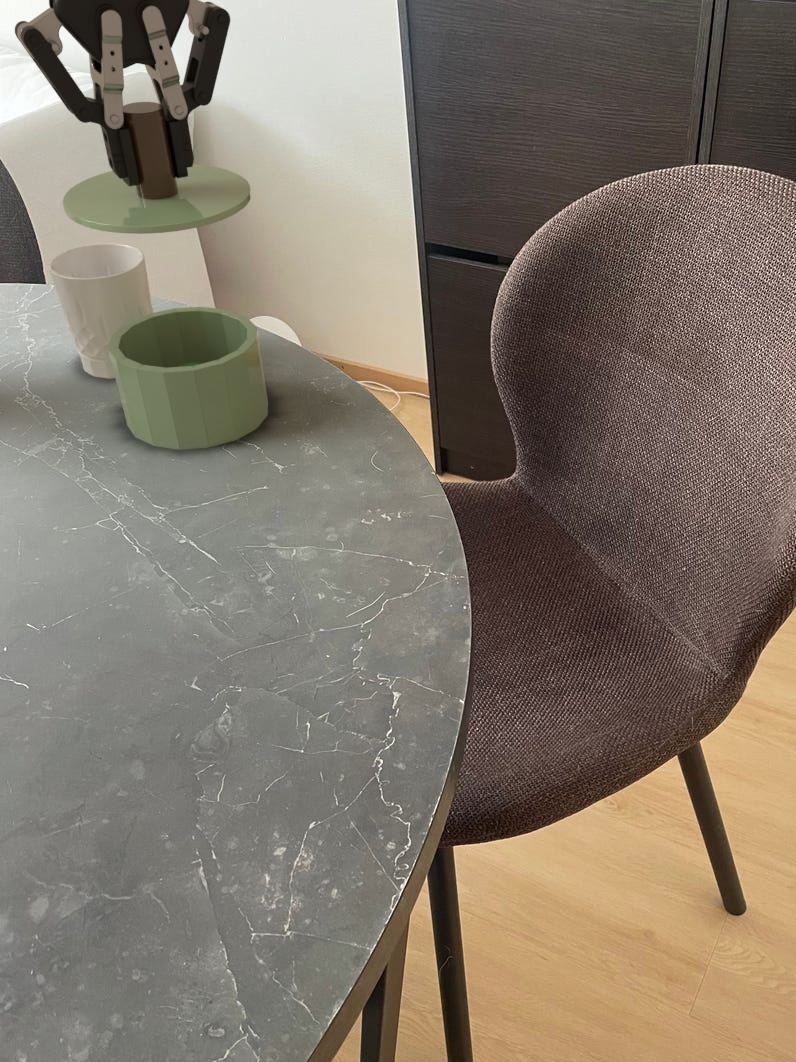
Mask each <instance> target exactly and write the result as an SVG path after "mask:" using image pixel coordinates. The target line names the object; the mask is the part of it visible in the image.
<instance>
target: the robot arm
mask: <svg viewBox="0 0 796 1062" xmlns="http://www.w3.org/2000/svg"><path fill="white" fill-rule="evenodd" d="M48 5H49V7H48V8H47V9H46V10H44V11H42V12H41V13H40V14H38V15H37V16H36V17H34V18H33V19H31V20H30V21H27V20H20V21H19V22H16V24H15V26H14V35H15V36H16V38H17V39H18V41H19V42H20V44H21V45H22V47H23V48H24V50H25V51H26V52H27V54H28V56H30V58H31V60H32V61H33V63H35V65H36V67H37V68H38V69H39V71H40V72H41V73H42V75H43V76H44V78H45V79H46V81H47V82H48V83H49V85H50V86H51V88H52V89H53V90H54V92H55V93H56V94H57V96H58V98H59V99H60V100H61V102H62V104H63V105H64V106H65V108H66V109H67V110H68V111H69V112H70V113H71V114H72V115H74V117H75V118H76V119H77V120H78V121H79V122H81V123H83V124H88V123H93V124H97V125H99V126H100V129H101V133H102V137H103V143H104V147H105V150H106V156H107V161H108V166H109V167H110V169H111V171H113V172H114V173H115V174H116V175H117V176H118V177H119V178H120V179H121V178H122V179H123V181H124V182H125V183H126V184H127V185H128V186H129V187H130V186H136V185H140V181H139V176H138V171H137V166H136V161H135V156H134V151H133V146H132V141H131V136H130V131H129V128H128V127H127V126H125V125H124V115H123V106H124V100H123V92H124V88H125V77H124V69H127V68H129V67H131V66H134V65H136V64H138V65H144V67H145V70H146V72H147V74H148V76H149V78H150V80H151V83H152V86H153V89H154V92H155V95H156V99H157V102H158V103H159V104H161V105H162V106H163V108H164V114H165V119H166V125H167V131H168V136H169V142H170V147H171V153H172V158H173V164H174V170H175V175H176V178H182V177H187V176H188V170H187V167H192V166H193V164H194V161H195V157H194V151H193V144H192V139H191V134H190V133H191V132H190V127H189V115H190V114H191V112H192V111H193V110H195V109H197V108H199V107H200V106H203V107H205V106H207V105H209V104H210V103H211V101H212V99H213V95H214V91H215V86H216V82H217V79H218V74H219V70H220V65H221V61H222V58H223V54H224V49H225V45H226V40H227V36H228V33H229V28H230V26H231V25H230V24H231V15H230V13H229V11H227V9H225V8H223V7H221V6H220V5H217V4H215V3H213V2H211V1H202V0H48ZM186 15H187V18H188V30H189V32H190V33H191V34H192V35H193V37H192V43H191V47H190V52H189V56H188V60H187V63H186V64H187V65H186V68H185V74H184V78H183V82H182V84H181V82H180V79H181V76H180V73H179V70H178V66H177V63H176V60H175V56H174V54H173V50H172V48H173V45H174V43H175V40H176V39H177V36H178V34H179V32H180V29H181V27H182V24H183V22H184V20H185V18H186ZM62 27H63V28H64V29H65V30H66V31H67V32H68V33H69V34H70V36H71V37H72V38H73V39H74V40H76V42H77V43H78V44H79V45H80V46H81V48H83V49H84V51H85V52H86V53H87V54H88V63H89V73H90V78H91V80H92V88H93V98H92V97H90V96H89V97H88V96H85V94H84V93H83V92H82V89H81V88H80V87H79V86H78V84H77V83H76V81H75V80H74V78H73V76H72V75H71V74H70V72H69V70H68V69H67V68H66V67H65V65H64V64H63V62H62V61H61V60H60V57H59V55H61V54H62V52H63V48H64V46H63V42H62V40H61V38H60V30H61V28H62Z"/></svg>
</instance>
